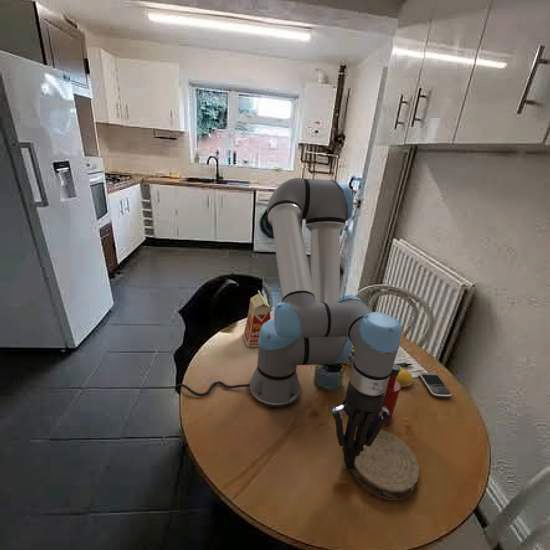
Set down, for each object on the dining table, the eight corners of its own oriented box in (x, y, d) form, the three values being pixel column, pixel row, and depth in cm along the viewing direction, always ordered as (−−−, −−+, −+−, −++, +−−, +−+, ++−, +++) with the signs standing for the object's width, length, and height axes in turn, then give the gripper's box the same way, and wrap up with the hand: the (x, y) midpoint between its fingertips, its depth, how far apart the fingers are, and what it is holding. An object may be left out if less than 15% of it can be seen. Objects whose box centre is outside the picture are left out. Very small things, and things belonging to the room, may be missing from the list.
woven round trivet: (392, 433, 84) (394, 425, 82) (431, 493, 69) (434, 484, 68) (337, 440, 80) (339, 432, 79) (366, 505, 66) (369, 496, 65)
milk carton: (243, 334, 121) (245, 288, 114) (265, 332, 124) (269, 287, 116) (248, 348, 113) (251, 300, 106) (272, 345, 116) (276, 298, 109)
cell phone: (432, 398, 97) (433, 395, 96) (417, 374, 107) (418, 371, 107) (451, 399, 97) (453, 395, 97) (434, 375, 107) (435, 372, 107)
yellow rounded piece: (404, 392, 99) (407, 382, 97) (379, 376, 105) (382, 366, 103) (416, 381, 104) (419, 371, 102) (392, 367, 110) (394, 357, 108)
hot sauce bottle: (374, 424, 86) (388, 373, 79) (367, 408, 91) (380, 359, 84) (394, 424, 86) (409, 374, 79) (386, 409, 91) (400, 360, 85)
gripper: (341, 397, 60) (324, 479, 69) (405, 399, 61) (380, 479, 70) (332, 371, 67) (318, 449, 76) (390, 373, 68) (369, 449, 77)
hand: (348, 463), depth 73 cm, fingers closed
